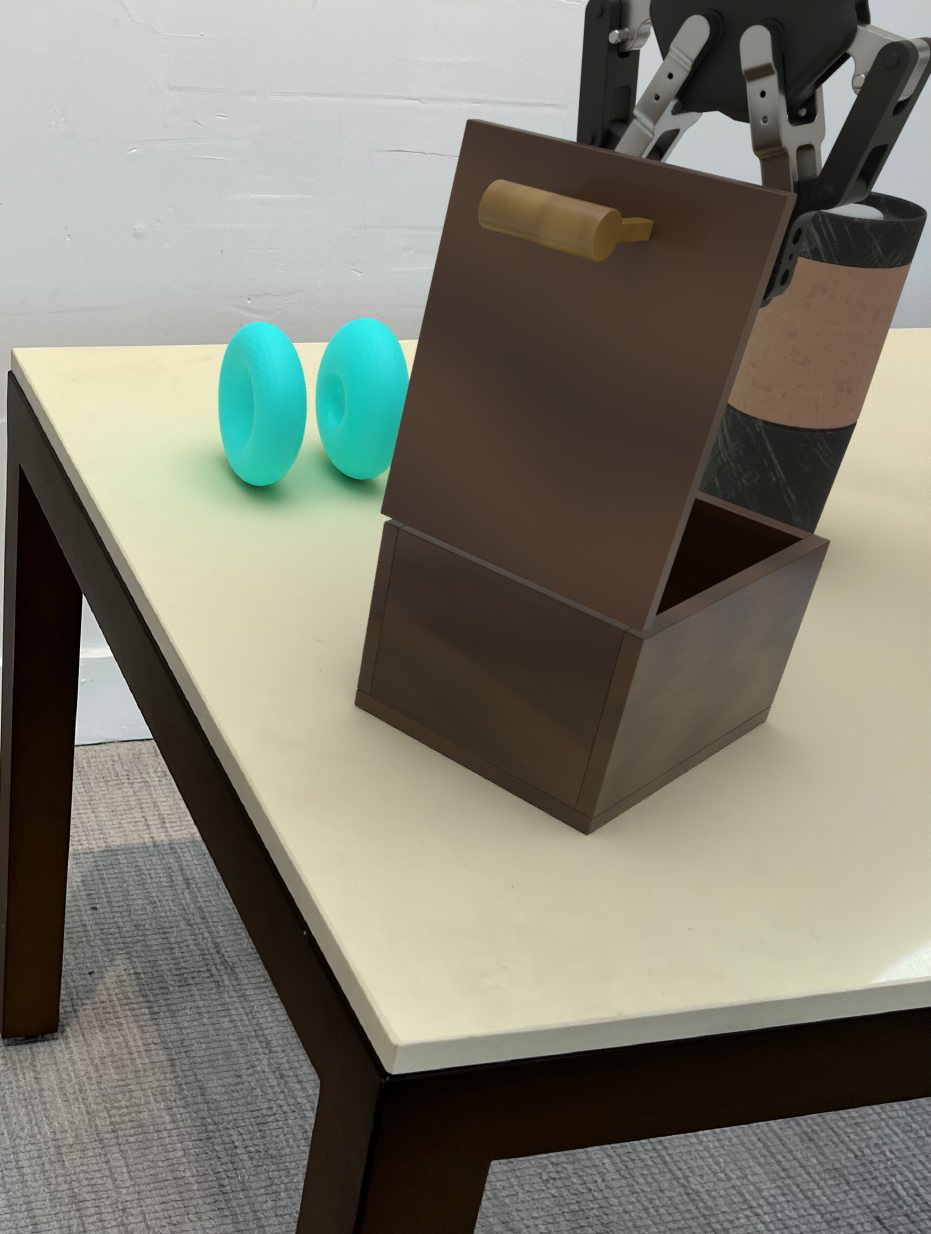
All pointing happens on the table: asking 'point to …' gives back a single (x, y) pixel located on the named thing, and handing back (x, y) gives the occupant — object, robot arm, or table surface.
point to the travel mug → (813, 362)
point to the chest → (586, 661)
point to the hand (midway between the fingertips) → (684, 285)
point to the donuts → (345, 400)
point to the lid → (578, 360)
